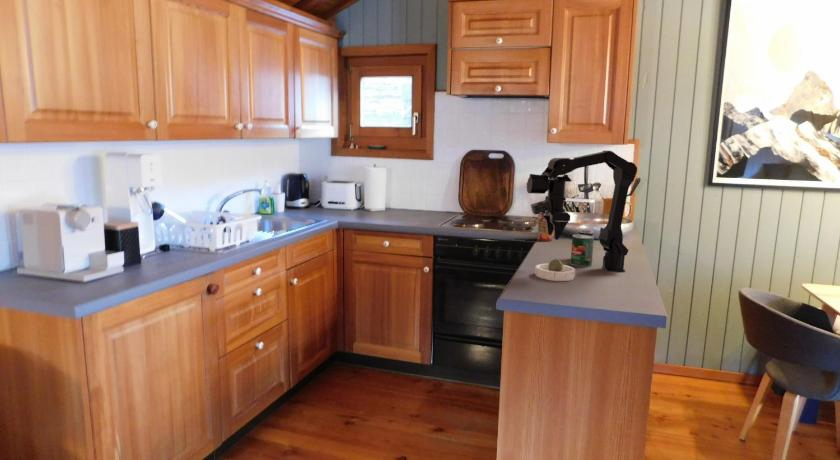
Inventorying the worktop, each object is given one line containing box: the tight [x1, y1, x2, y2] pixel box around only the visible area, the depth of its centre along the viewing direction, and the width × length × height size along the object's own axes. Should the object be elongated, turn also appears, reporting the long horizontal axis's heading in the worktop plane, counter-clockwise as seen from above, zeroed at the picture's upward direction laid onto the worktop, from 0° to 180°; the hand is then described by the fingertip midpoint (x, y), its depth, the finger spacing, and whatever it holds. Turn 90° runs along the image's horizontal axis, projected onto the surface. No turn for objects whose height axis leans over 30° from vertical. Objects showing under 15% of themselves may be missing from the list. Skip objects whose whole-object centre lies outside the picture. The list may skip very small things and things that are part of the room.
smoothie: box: [537, 213, 554, 242], centre depth 267 cm, size 8×8×20 cm
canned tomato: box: [570, 234, 595, 268], centre depth 218 cm, size 8×8×11 cm
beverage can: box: [578, 227, 594, 237], centre depth 228 cm, size 6×6×12 cm
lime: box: [548, 258, 564, 272], centre depth 198 cm, size 4×5×5 cm
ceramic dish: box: [534, 263, 576, 282], centre depth 199 cm, size 13×13×3 cm
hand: (553, 237), depth 207 cm, fingers open, 9 cm apart
